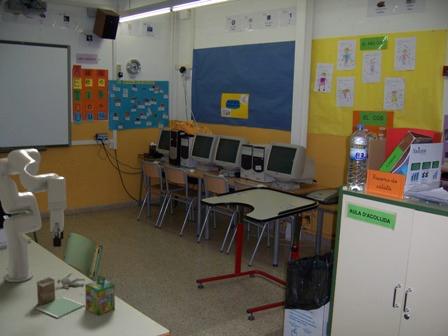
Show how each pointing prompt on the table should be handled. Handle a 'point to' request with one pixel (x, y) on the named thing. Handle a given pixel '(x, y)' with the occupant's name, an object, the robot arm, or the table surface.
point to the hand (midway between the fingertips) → (58, 242)
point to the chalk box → (100, 296)
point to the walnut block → (46, 291)
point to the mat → (60, 307)
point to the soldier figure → (69, 281)
